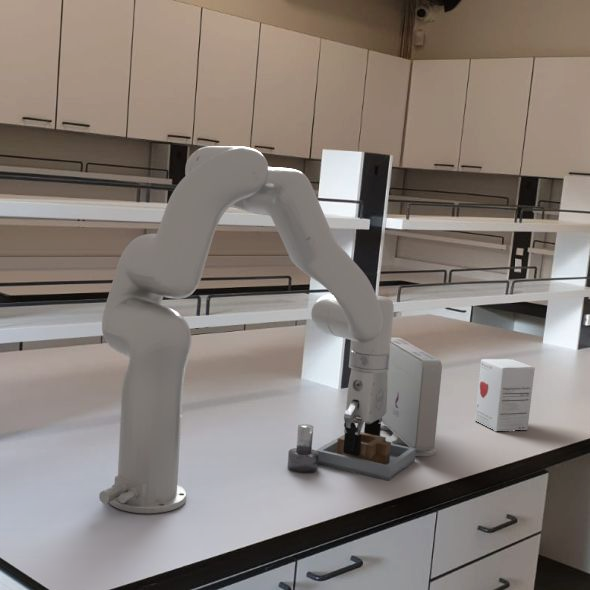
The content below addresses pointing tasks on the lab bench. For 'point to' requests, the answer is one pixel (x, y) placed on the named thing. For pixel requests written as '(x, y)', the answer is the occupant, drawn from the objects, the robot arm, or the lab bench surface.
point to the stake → (303, 452)
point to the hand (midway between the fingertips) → (361, 448)
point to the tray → (397, 463)
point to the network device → (412, 397)
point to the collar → (369, 448)
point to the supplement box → (504, 394)
